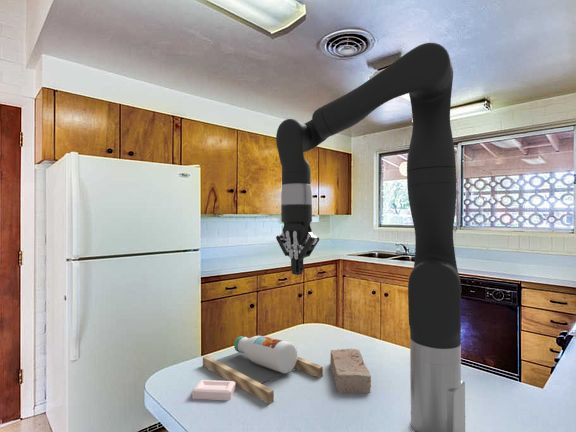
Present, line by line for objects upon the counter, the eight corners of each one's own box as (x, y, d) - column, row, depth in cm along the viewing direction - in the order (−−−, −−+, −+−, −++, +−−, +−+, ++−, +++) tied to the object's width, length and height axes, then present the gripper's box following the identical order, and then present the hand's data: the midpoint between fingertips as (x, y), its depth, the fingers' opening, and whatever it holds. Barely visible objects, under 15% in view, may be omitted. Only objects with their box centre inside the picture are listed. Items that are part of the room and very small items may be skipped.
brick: (372, 394, 81) (372, 374, 82) (337, 393, 82) (337, 374, 82) (359, 364, 98) (358, 348, 98) (329, 364, 98) (329, 348, 98)
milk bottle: (275, 359, 87) (225, 344, 100) (286, 380, 89) (236, 362, 103) (291, 336, 92) (242, 325, 105) (301, 357, 94) (252, 343, 108)
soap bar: (230, 401, 78) (230, 391, 78) (191, 400, 79) (191, 389, 79) (235, 390, 84) (235, 380, 84) (199, 388, 85) (199, 378, 85)
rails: (322, 376, 90) (322, 366, 90) (268, 403, 77) (268, 392, 77) (255, 347, 110) (255, 340, 110) (202, 365, 97) (202, 357, 97)
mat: (295, 368, 94) (295, 367, 94) (252, 388, 84) (252, 386, 84) (250, 349, 109) (250, 348, 109) (208, 363, 98) (208, 362, 98)
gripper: (327, 202, 82) (328, 275, 82) (288, 204, 91) (288, 269, 91) (306, 201, 76) (306, 279, 76) (267, 204, 86) (267, 273, 86)
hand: (297, 274), depth 84 cm, fingers closed
